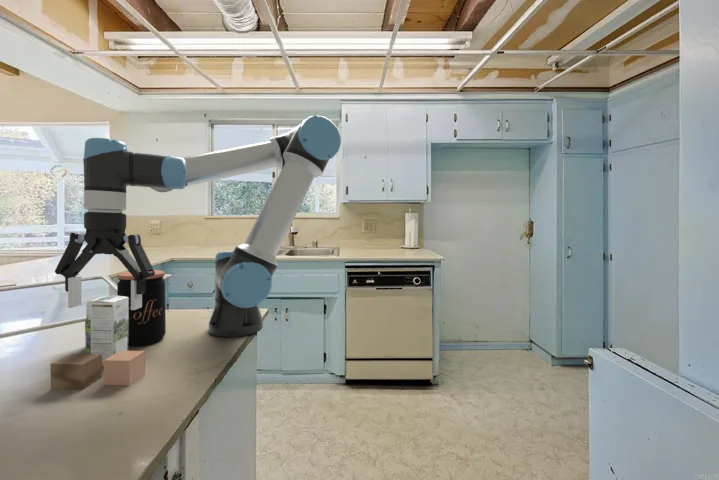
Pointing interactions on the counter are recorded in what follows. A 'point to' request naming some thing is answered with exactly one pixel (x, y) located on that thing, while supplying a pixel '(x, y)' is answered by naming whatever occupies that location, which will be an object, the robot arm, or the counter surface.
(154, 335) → the coffee jar
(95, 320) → the syrup box
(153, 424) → the counter surface
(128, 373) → the terracotta block
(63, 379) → the walnut block
